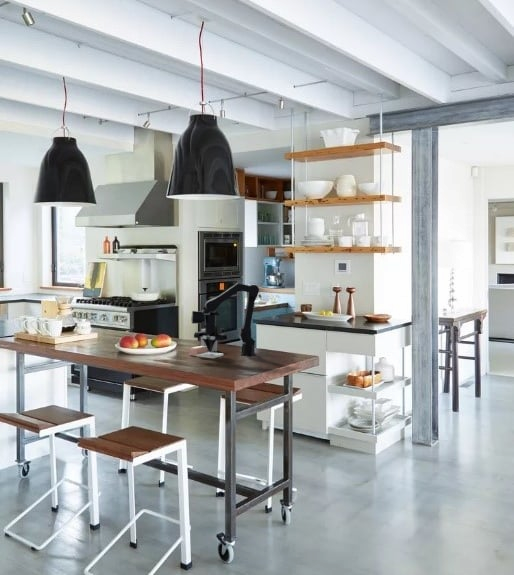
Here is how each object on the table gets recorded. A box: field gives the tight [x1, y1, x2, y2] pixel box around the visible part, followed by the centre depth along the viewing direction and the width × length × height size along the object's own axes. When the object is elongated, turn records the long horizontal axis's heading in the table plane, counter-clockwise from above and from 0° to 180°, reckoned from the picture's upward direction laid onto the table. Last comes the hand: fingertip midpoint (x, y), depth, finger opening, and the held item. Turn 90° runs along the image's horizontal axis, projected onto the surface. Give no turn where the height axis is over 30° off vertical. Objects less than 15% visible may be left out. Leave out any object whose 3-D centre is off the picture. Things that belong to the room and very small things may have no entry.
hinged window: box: [196, 352, 224, 359], centre depth 353 cm, size 11×10×1 cm
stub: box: [189, 345, 207, 357], centre depth 357 cm, size 4×10×4 cm, turn 149°
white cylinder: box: [200, 328, 218, 353], centre depth 371 cm, size 10×10×12 cm
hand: (210, 351), depth 353 cm, fingers closed
